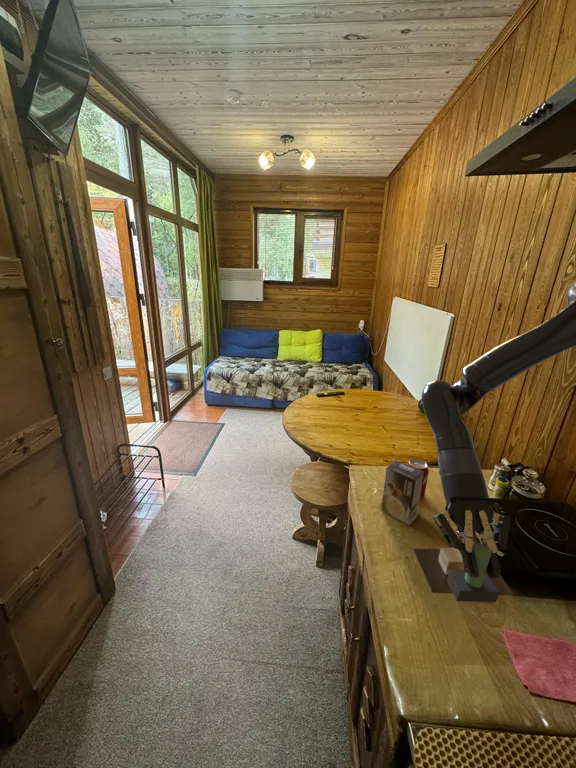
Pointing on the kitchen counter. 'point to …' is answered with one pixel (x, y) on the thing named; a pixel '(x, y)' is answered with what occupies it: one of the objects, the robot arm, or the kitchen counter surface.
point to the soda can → (423, 467)
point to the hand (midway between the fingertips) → (484, 576)
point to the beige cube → (450, 560)
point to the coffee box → (402, 491)
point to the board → (439, 578)
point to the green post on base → (474, 580)
